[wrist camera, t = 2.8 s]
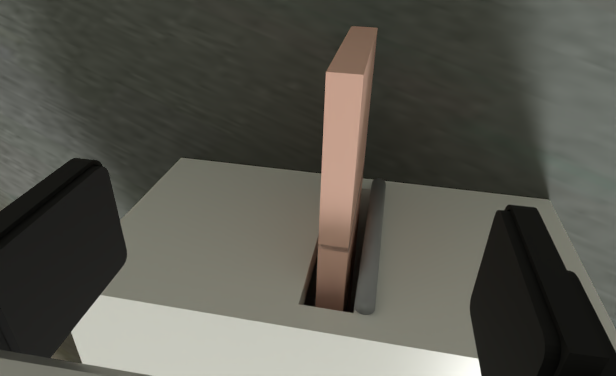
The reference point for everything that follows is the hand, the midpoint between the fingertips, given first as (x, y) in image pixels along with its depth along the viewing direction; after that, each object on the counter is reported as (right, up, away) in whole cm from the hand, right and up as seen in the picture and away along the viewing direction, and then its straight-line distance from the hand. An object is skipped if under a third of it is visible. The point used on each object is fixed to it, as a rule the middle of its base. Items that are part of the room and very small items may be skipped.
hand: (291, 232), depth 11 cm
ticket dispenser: (+3, -3, +19) cm, 20 cm away
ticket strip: (+3, +1, +14) cm, 14 cm away
